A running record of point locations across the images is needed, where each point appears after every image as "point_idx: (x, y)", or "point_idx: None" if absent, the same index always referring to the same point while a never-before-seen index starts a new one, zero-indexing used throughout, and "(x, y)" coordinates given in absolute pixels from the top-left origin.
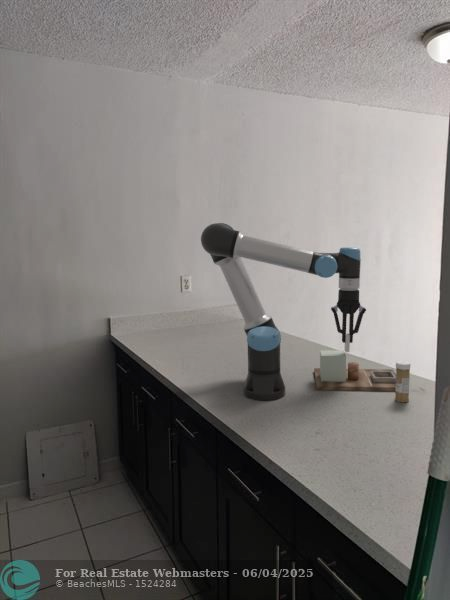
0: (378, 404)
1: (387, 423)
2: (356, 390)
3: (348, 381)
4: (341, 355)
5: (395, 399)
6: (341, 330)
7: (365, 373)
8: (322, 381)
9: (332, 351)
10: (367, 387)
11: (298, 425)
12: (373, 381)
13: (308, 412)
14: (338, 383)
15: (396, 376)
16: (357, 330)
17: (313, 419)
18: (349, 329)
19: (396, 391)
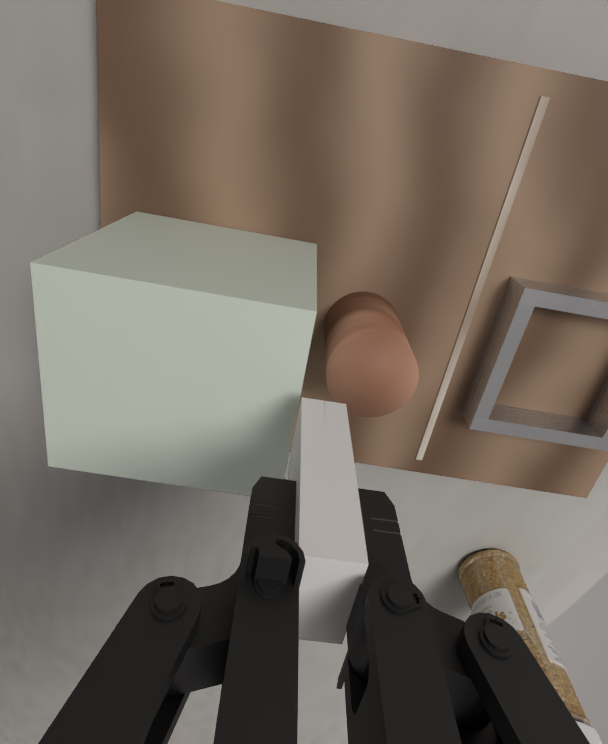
0: None
1: (326, 702)
2: None
3: (312, 373)
4: (242, 478)
5: (458, 573)
6: (200, 682)
7: (503, 220)
8: None
9: (176, 333)
10: (389, 465)
11: (40, 689)
12: (464, 405)
13: (70, 621)
14: None
15: None
16: (478, 738)
17: (88, 663)
18: (372, 661)
19: (471, 610)
